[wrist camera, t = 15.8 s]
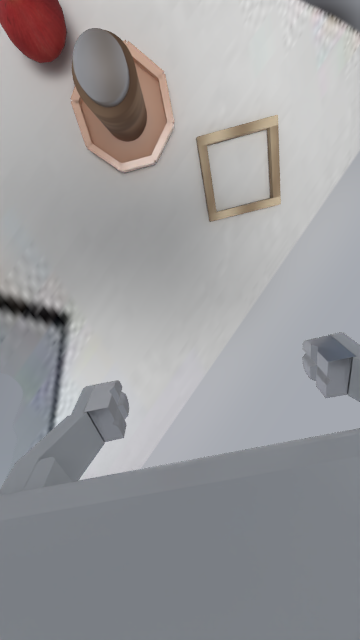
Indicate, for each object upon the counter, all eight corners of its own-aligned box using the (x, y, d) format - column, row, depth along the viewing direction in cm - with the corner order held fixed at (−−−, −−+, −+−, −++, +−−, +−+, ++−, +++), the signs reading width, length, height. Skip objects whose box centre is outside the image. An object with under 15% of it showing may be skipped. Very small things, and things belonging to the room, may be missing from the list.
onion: (8, 20, 25) (-56, -52, 18) (53, -14, 24) (4, -104, 17) (45, 87, 27) (2, 47, 20) (87, 58, 27) (57, 6, 19)
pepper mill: (112, 146, 30) (81, 118, 19) (96, 92, 27) (51, 28, 17) (152, 135, 29) (143, 100, 19) (139, 79, 27) (121, 5, 17)
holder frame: (209, 221, 35) (210, 221, 34) (196, 138, 30) (197, 136, 29) (277, 203, 34) (280, 204, 33) (274, 117, 30) (277, 114, 29)
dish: (100, 179, 32) (96, 178, 30) (63, 69, 27) (57, 61, 25) (180, 157, 31) (180, 155, 29) (157, 40, 26) (156, 30, 25)
